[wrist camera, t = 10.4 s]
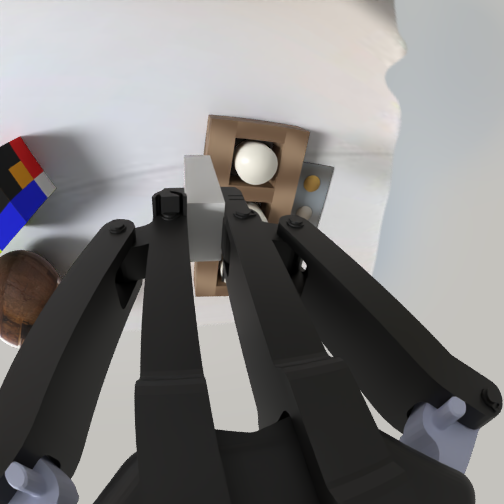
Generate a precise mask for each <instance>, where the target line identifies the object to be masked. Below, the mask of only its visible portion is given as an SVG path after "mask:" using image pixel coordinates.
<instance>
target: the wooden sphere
mask: <svg viewBox="0 0 504 504" xmlns="http://www.w3.org/2000/svg"><path fill="white" fill-rule="evenodd" d="M60 282H61V279H60V277H59V275H58V273H57V272H56V270H55V269H54V267H53V266H52V265H51V264H50V263H49V262H48V261H47V260H46V259H44V258H43V257H42V256H40V255H38V254H36V253H33V252H30V251H25V250H17V251H12V252H9V253H6V254H4V255H3V256H1V257H0V339H1V340H3V341H4V342H5V343H7V344H8V345H10V346H12V347H15V348H18V349H20V347H21V345H22V344H23V342H24V340H25V338H26V336H27V335H28V333H29V331H30V329H31V328H32V326H33V324H34V323H35V321H36V319H37V318H38V316H39V314H40V313H41V311H42V309H43V308H44V306H45V305H46V303H47V302H48V300H49V298H50V297H51V295H52V294H53V292H54V291H55V289H56V288H57V286H58V285H59V284H60Z"/></svg>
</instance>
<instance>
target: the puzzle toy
mask: <svg viewBox="0 0 504 504" xmlns="http://www.w3.org/2000/svg"><path fill="white" fill-rule="evenodd" d="M55 189H56V187H55V186H54V184H53V183H52V182H51V180H50V179H49V178H48V176H47V175H46V174H45V172H44V171H43V169H42V168H41V167H40V165H39V164H38V162H37V161H36V159H35V158H34V156H33V155H32V153H31V152H30V150H29V149H28V147H27V146H26V144H25V143H24V141H23V140H22V138H21V137H18V138H16V139H14V140H12V141H10V142H8V143H6V144H5V145H3V146H1V147H0V253H1V252H2V251H3V249H4V248H5V247H6V246H7V245H8V243H9V242H10V241H11V240H12V239H13V237H14V236H15V235H16V234H17V233H18V232H19V231H20V230H21V228H22V227H23V226H24V225H25V224H26V223H27V222H28V220H29V219H30V218H31V217H32V216H33V214H34V213H35V212H36V211H37V210H38V208H39V207H40V206H41V205H42V204H43V203H44V202H45V200H46V199H47V198H48V197H49V196H50V195H51V194H52V193H53V192H54V191H55Z"/></svg>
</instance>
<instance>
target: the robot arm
mask: <svg viewBox="0 0 504 504" xmlns="http://www.w3.org/2000/svg"><path fill="white" fill-rule="evenodd" d="M152 205H153V221H152V222H151V223H150V224H147V225H145V226H142V227H138V228H135V225H134V223H133V222H131V221H130V220H125V219H116V220H112V221H111V222H109V223H106V224H105V225H104V226H103V227H102V228H101V229H100V230H99V232H98V233H97V234H96V235H95V237H94V238H93V239H92V240H91V242H90V243H89V244H88V245H87V247H86V248H85V249H84V251H83V252H82V253H81V254H80V256H79V257H78V258H77V260H76V261H75V263H74V264H73V265H72V267H71V268H70V269H69V271H68V272H67V274H66V275H65V276H64V278H63V279H62V281H61V282H60V284H59V285H58V286H57V288H56V289H55V291H54V292H53V294H52V295H51V297H50V298H49V300H48V302H47V303H46V305H45V306H44V308H43V309H42V311H41V313H40V314H39V316H38V318H37V319H36V321H35V323H34V324H33V326H32V328H31V329H30V331H29V333H28V335H27V336H26V338H25V340H24V342H23V344H22V345H21V347H20V349H19V351H18V353H17V355H16V357H15V359H14V361H13V363H12V365H11V367H10V369H9V371H8V373H7V375H6V377H5V379H4V382H3V384H2V386H1V388H0V504H77V502H78V499H79V495H78V493H77V490H76V487H75V485H74V483H73V482H72V480H71V478H72V476H73V475H74V472H75V470H76V468H77V466H78V463H79V461H80V458H81V455H82V452H83V449H84V446H85V442H86V438H87V434H88V431H89V427H90V423H91V420H92V417H93V413H94V410H95V407H96V404H97V400H98V397H99V394H100V391H101V388H102V385H103V382H104V379H105V376H106V373H107V371H108V368H109V365H110V362H111V359H112V357H113V354H114V351H115V348H116V346H117V343H118V341H119V338H120V336H121V333H122V331H123V328H124V326H125V323H126V321H127V318H128V316H129V313H130V311H131V309H132V306H133V304H134V302H135V299H136V297H137V295H138V292H139V290H140V288H141V286H142V279H144V278H145V287H144V299H143V313H142V330H141V362H140V364H141V366H140V379H139V380H137V381H136V384H135V429H136V445H137V446H136V447H137V452H136V453H134V454H133V455H131V456H130V457H129V459H127V460H126V461H125V462H124V464H123V465H122V466H121V468H120V469H119V470H118V471H117V473H116V474H115V475H114V477H113V478H112V479H111V481H110V482H109V483H108V485H107V486H106V487H105V489H104V490H103V491H102V493H101V494H100V495H99V496H98V498H97V499H96V500H95V502H94V503H93V504H475V492H474V488H473V486H472V484H471V482H470V480H469V479H468V478H467V477H466V476H465V475H464V473H465V471H466V468H467V466H468V463H469V460H470V457H471V454H472V451H473V448H474V444H475V441H476V438H477V433H478V431H479V429H480V428H481V427H482V426H484V425H485V424H486V423H488V422H489V421H491V420H492V419H493V418H495V417H496V416H497V415H498V414H499V413H500V412H501V409H502V396H501V393H500V391H499V389H498V387H497V386H496V385H495V384H494V383H493V382H491V381H490V380H488V379H487V378H486V377H484V376H483V375H481V374H479V373H478V372H476V371H475V370H473V369H472V368H471V367H469V366H467V365H466V364H464V363H463V362H461V361H460V360H458V359H457V358H455V357H454V356H452V355H451V354H450V353H449V352H448V351H447V350H446V349H445V348H444V347H443V346H442V344H440V343H439V341H438V340H437V339H436V338H435V337H433V335H432V334H431V333H430V332H429V331H428V330H427V329H426V328H425V327H424V326H423V325H422V324H421V323H420V322H419V321H418V320H417V319H416V318H415V317H414V316H413V315H412V314H411V313H410V312H409V311H408V310H407V309H406V308H405V307H404V306H403V305H402V304H401V303H400V302H399V301H398V300H397V299H395V298H394V297H393V296H392V295H391V294H390V293H389V292H388V291H387V290H386V289H385V288H384V287H383V286H382V285H381V284H380V283H379V282H377V281H376V280H375V279H374V278H373V277H372V276H371V275H370V274H369V273H368V272H367V271H365V270H364V269H363V268H362V267H361V266H360V265H359V264H358V263H357V262H355V261H354V260H353V259H352V258H351V257H350V256H349V255H348V254H346V253H345V252H344V251H343V250H342V249H341V248H340V247H339V246H337V245H336V244H335V243H334V242H333V241H332V240H330V239H329V238H328V237H327V236H326V235H325V234H323V233H322V232H321V231H320V230H319V229H318V228H316V227H315V226H314V225H313V224H312V223H310V222H309V221H308V220H306V219H305V218H302V217H300V216H298V215H285V216H282V217H280V218H279V223H278V224H274V223H268V222H264V221H262V219H261V217H260V215H259V214H258V213H257V212H256V211H254V210H252V209H249V207H248V205H247V203H246V201H245V199H244V197H243V195H242V193H241V191H240V190H239V189H237V188H236V187H220V185H219V182H218V179H217V176H216V173H215V170H214V167H213V164H212V160H211V157H210V155H184V188H164V189H163V190H162V191H160V192H157V193H155V194H154V195H153V196H152ZM222 254H223V268H222V282H224V280H225V281H226V285H227V290H228V294H229V298H230V303H231V307H232V311H233V316H234V320H235V324H236V328H237V332H238V336H239V340H240V344H241V348H242V353H243V356H244V360H245V364H246V368H247V372H248V376H249V379H250V384H251V388H252V391H253V395H254V399H255V402H256V406H257V411H258V425H259V430H258V431H256V432H251V433H248V432H247V433H246V432H234V431H225V430H216V429H214V423H213V418H212V413H211V407H210V401H209V395H208V390H207V384H206V380H205V377H204V374H203V368H202V361H201V354H200V346H199V340H198V331H197V323H196V314H195V306H194V296H193V286H192V276H191V265H190V262H200V261H221V255H222ZM303 260H304V262H305V263H306V265H307V267H306V270H304V269H303V268H302V267H301V265H302V261H303ZM321 341H322V342H321ZM322 343H323V344H324V345H325V346H326V348H327V349H328V350H329V351H330V353H331V354H332V355H333V357H330V356H329V355H328V354H327V352H326V350H325V348H324V346H323V344H322ZM360 390H361V391H360ZM361 392H362V393H363V394H364V395H365V397H366V398H367V399H368V400H369V402H370V403H371V404H372V406H373V407H374V408H375V409H376V410H377V411H378V413H379V414H380V415H381V416H382V417H383V418H384V419H385V420H386V421H387V422H388V423H389V424H391V425H392V426H393V427H394V428H395V429H397V430H398V431H399V432H401V433H402V434H403V435H402V436H401V437H400V440H397V439H395V438H393V437H391V436H390V435H388V434H386V433H384V432H383V431H381V430H379V429H378V427H377V425H376V423H375V421H374V419H373V417H372V415H371V412H370V410H369V408H368V406H367V405H366V402H365V400H364V398H363V396H362V394H361Z"/></svg>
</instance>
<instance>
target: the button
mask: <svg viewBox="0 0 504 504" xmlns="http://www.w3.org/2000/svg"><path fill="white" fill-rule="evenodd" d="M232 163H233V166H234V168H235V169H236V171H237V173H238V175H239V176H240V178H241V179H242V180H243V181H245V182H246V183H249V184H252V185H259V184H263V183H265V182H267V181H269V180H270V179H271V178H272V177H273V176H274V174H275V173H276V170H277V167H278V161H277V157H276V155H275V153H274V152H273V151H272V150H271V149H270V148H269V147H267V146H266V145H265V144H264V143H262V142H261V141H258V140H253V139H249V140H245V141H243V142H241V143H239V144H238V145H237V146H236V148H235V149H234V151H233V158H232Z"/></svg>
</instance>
